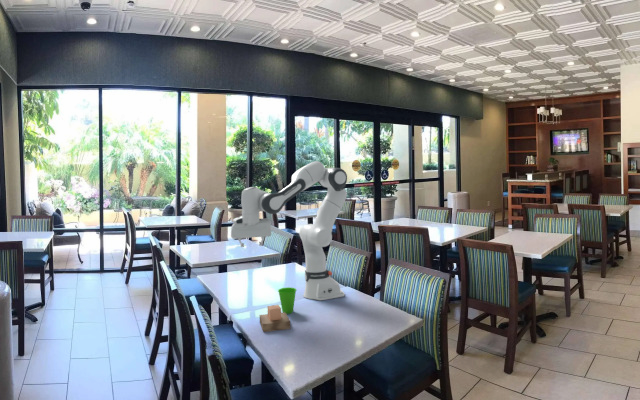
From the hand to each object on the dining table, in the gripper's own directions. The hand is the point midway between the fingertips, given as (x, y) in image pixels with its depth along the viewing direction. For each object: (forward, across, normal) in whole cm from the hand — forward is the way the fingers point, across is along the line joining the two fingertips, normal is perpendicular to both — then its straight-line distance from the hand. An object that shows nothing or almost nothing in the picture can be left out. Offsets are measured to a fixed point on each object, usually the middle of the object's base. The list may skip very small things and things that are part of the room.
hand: (251, 246), depth 217 cm
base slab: (+32, -6, +31) cm, 45 cm away
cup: (+31, -15, +15) cm, 38 cm away
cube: (+28, -6, +31) cm, 42 cm away
